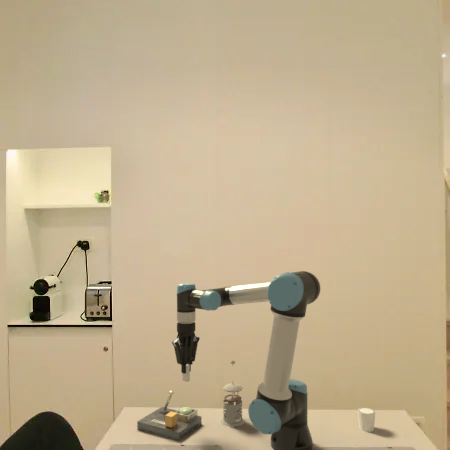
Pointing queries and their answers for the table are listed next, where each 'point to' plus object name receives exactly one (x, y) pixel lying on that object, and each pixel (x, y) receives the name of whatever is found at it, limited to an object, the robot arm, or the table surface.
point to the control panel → (157, 426)
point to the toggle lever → (168, 399)
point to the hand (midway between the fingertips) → (186, 380)
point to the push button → (186, 410)
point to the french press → (232, 406)
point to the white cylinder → (366, 419)
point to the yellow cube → (171, 419)
